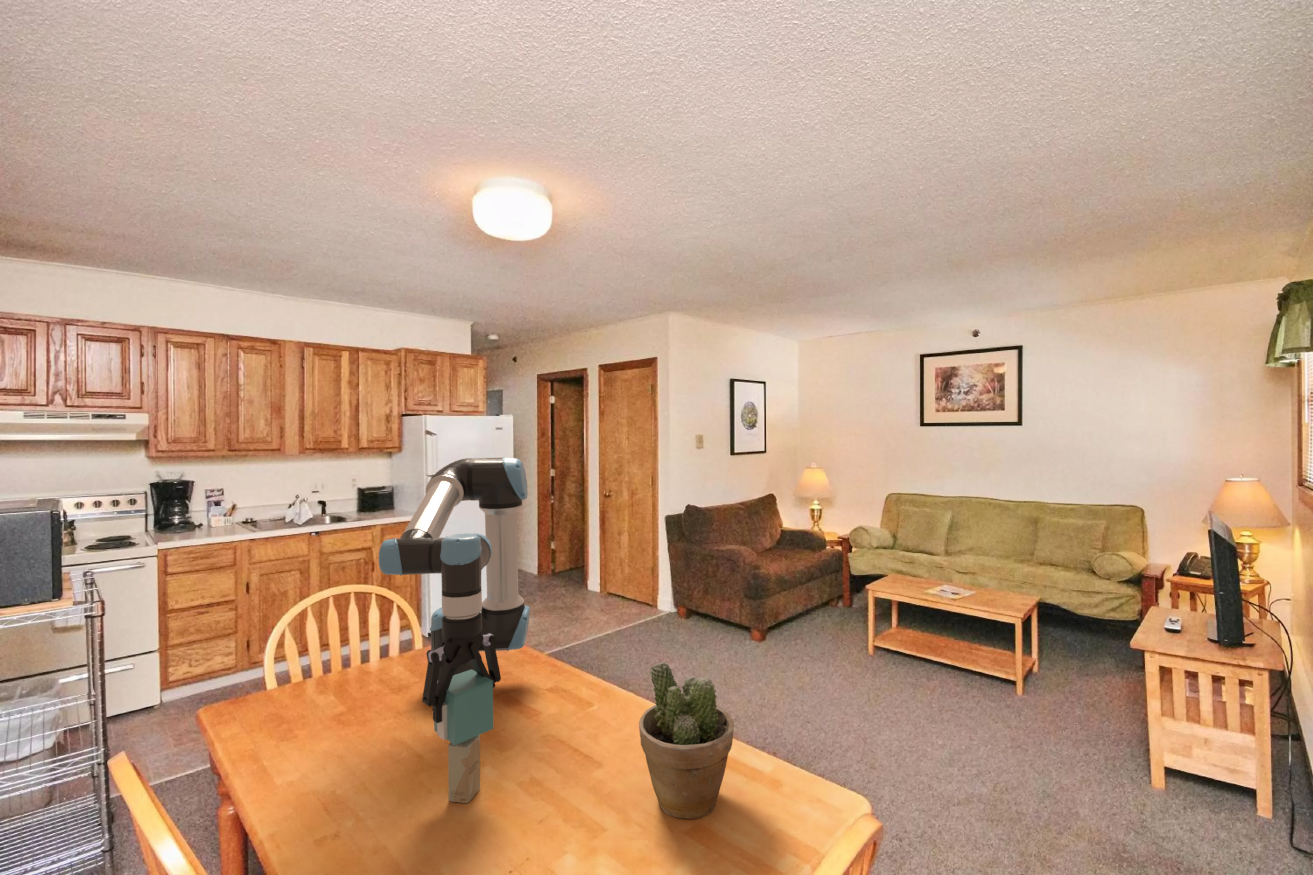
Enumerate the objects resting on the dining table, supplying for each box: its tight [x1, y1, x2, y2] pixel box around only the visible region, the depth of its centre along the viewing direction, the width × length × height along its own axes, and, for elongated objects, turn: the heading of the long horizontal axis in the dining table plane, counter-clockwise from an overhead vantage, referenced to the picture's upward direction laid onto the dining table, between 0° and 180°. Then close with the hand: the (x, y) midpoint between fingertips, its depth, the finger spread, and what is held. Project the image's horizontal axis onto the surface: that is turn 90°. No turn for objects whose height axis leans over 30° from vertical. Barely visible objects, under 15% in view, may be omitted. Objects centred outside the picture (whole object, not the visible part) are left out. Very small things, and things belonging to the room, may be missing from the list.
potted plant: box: [638, 661, 735, 820], centre depth 113 cm, size 18×19×25 cm
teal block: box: [433, 669, 494, 745], centre depth 115 cm, size 8×8×10 cm
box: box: [447, 734, 481, 804], centre depth 115 cm, size 5×4×11 cm
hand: (463, 727), depth 115 cm, fingers closed on teal block, 8 cm apart
